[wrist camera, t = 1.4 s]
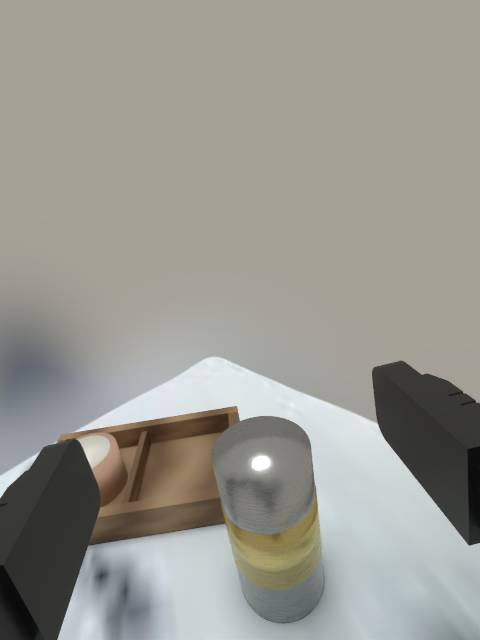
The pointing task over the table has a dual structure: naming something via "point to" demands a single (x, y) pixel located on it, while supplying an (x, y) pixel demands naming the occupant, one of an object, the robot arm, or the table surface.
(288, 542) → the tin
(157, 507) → the tray
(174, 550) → the table surface
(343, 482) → the table surface
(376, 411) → the robot arm
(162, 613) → the table surface
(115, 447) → the ramekin
